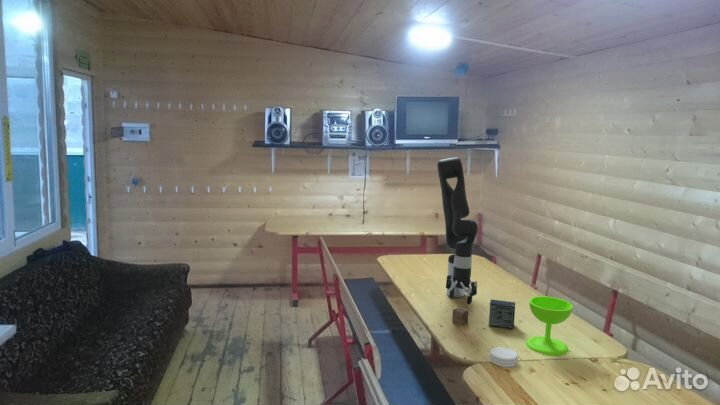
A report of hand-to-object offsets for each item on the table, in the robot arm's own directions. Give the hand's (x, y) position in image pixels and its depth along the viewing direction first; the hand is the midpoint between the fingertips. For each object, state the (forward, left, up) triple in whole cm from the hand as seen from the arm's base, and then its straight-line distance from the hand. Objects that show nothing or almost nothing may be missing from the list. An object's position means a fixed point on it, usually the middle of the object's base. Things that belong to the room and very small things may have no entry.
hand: (460, 301), depth 216 cm
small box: (-11, +14, -10) cm, 21 cm away
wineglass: (-5, +37, -10) cm, 39 cm away
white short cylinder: (+19, +31, -10) cm, 38 cm away
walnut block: (0, 0, -10) cm, 10 cm away
